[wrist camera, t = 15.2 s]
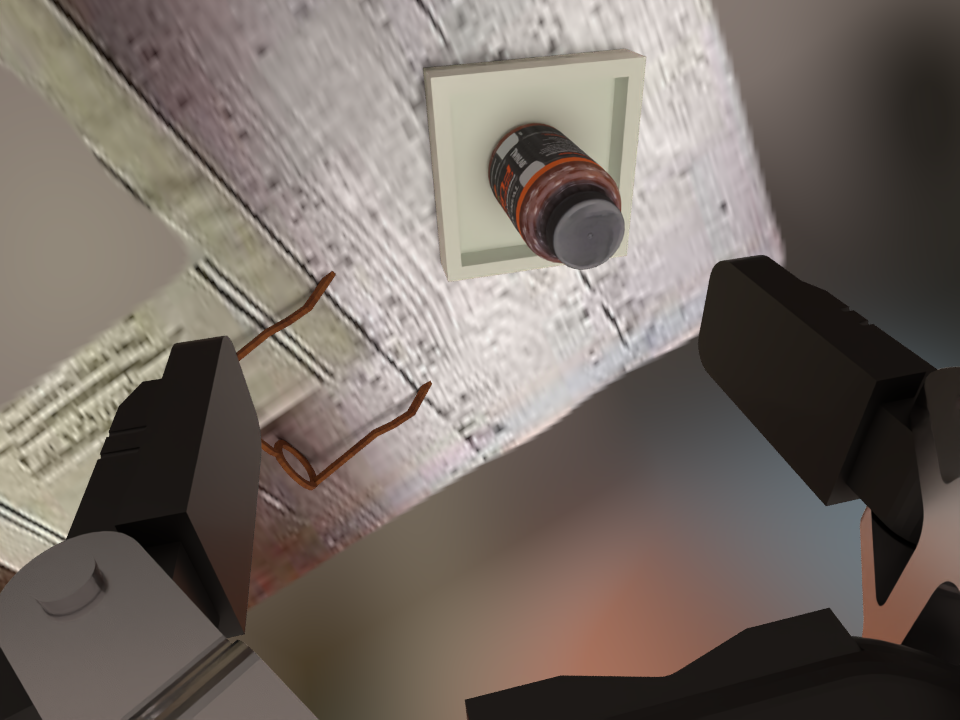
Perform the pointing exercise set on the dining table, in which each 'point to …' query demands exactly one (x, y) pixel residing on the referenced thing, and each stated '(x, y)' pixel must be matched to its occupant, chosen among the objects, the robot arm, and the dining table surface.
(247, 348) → the glasses
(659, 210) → the dining table surface
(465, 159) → the tray
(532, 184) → the supplement bottle
